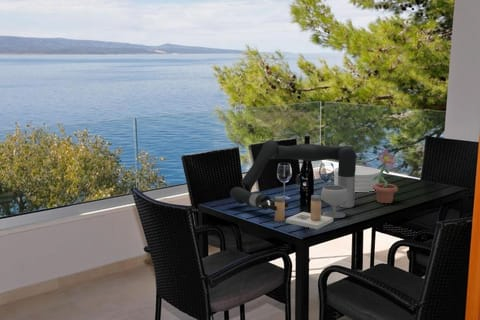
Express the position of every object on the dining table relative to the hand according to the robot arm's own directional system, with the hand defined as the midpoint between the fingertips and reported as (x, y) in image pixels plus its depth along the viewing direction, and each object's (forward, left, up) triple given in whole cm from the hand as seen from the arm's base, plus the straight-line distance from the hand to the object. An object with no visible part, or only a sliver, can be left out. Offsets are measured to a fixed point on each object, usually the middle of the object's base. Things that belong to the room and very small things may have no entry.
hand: (282, 207), depth 269 cm
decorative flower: (-65, +26, -7) cm, 71 cm away
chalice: (-24, +16, -7) cm, 30 cm away
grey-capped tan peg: (0, -2, -7) cm, 7 cm away
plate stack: (-89, -3, -8) cm, 90 cm away
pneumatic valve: (-60, -23, -7) cm, 65 cm away
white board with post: (-6, +12, -7) cm, 15 cm away
